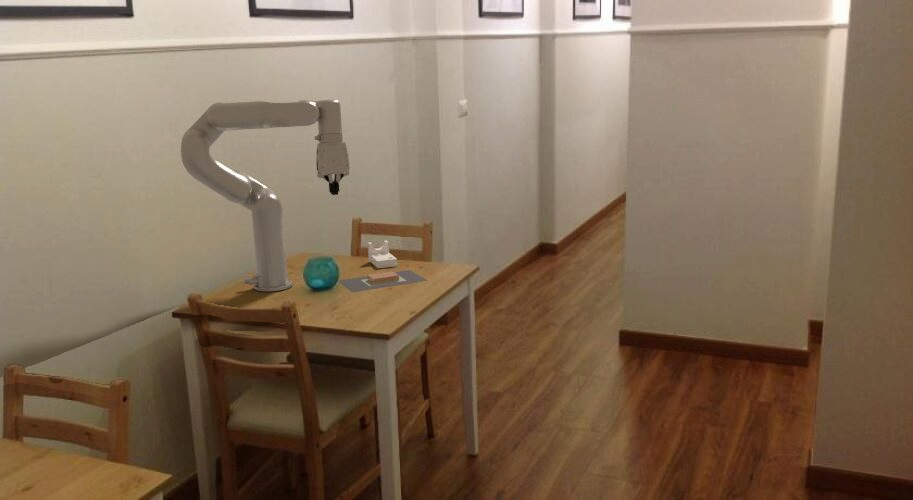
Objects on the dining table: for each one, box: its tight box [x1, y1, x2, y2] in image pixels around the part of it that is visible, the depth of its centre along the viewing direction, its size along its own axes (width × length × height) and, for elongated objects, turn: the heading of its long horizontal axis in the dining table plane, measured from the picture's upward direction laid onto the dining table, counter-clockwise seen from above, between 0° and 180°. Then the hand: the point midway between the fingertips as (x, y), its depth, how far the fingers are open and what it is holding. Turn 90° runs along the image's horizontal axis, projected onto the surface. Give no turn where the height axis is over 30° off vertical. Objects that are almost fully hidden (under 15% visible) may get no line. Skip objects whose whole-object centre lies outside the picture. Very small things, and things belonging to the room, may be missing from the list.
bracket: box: [367, 240, 398, 269], centre depth 296 cm, size 13×7×8 cm, turn 20°
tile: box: [366, 270, 399, 284], centre depth 274 cm, size 2×6×9 cm
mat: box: [337, 269, 428, 293], centre depth 274 cm, size 26×16×1 cm, turn 115°
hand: (334, 194), depth 273 cm, fingers closed
